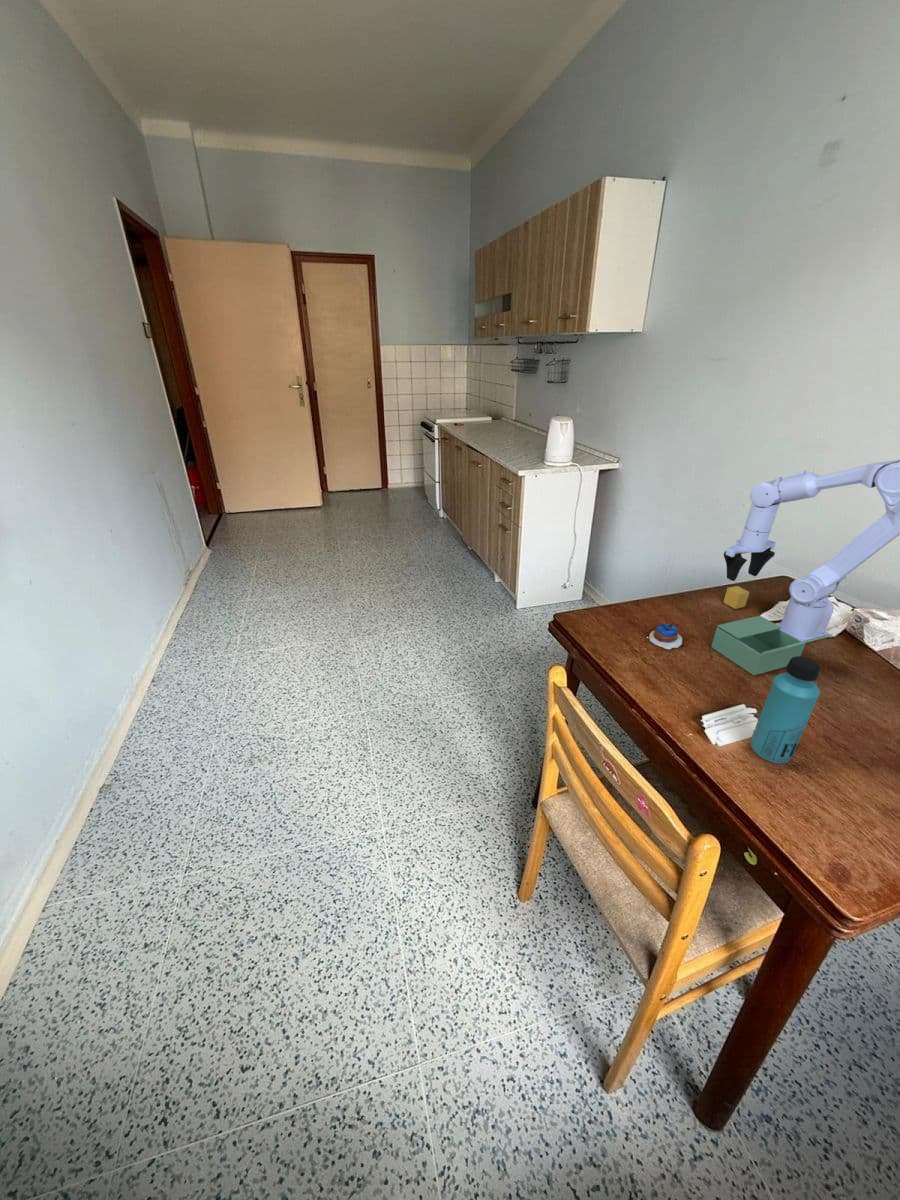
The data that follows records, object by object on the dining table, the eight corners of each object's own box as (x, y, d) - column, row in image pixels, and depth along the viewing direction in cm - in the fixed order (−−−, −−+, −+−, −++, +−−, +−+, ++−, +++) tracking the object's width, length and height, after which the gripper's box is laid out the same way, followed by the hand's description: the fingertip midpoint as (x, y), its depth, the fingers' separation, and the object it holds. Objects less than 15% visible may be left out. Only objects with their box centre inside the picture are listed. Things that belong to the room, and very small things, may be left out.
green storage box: (752, 636, 115) (759, 615, 112) (797, 663, 106) (806, 640, 103) (711, 646, 112) (717, 625, 109) (753, 675, 102) (762, 652, 99)
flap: (831, 634, 97) (832, 635, 97) (806, 640, 103) (807, 642, 103) (785, 646, 94) (786, 647, 94) (762, 652, 99) (762, 653, 99)
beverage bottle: (775, 776, 78) (817, 680, 69) (737, 750, 83) (772, 657, 74) (798, 762, 81) (842, 667, 71) (760, 737, 86) (796, 646, 77)
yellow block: (732, 600, 132) (737, 585, 130) (745, 606, 128) (749, 591, 126) (723, 602, 131) (727, 587, 129) (735, 609, 128) (739, 594, 125)
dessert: (657, 624, 120) (673, 614, 115) (675, 645, 118) (692, 635, 113) (640, 638, 115) (657, 627, 110) (659, 660, 114) (676, 650, 109)
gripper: (764, 520, 124) (749, 566, 131) (722, 527, 120) (708, 575, 127) (789, 529, 119) (772, 577, 125) (746, 536, 114) (730, 586, 121)
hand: (741, 577), depth 126 cm, fingers open, 7 cm apart
